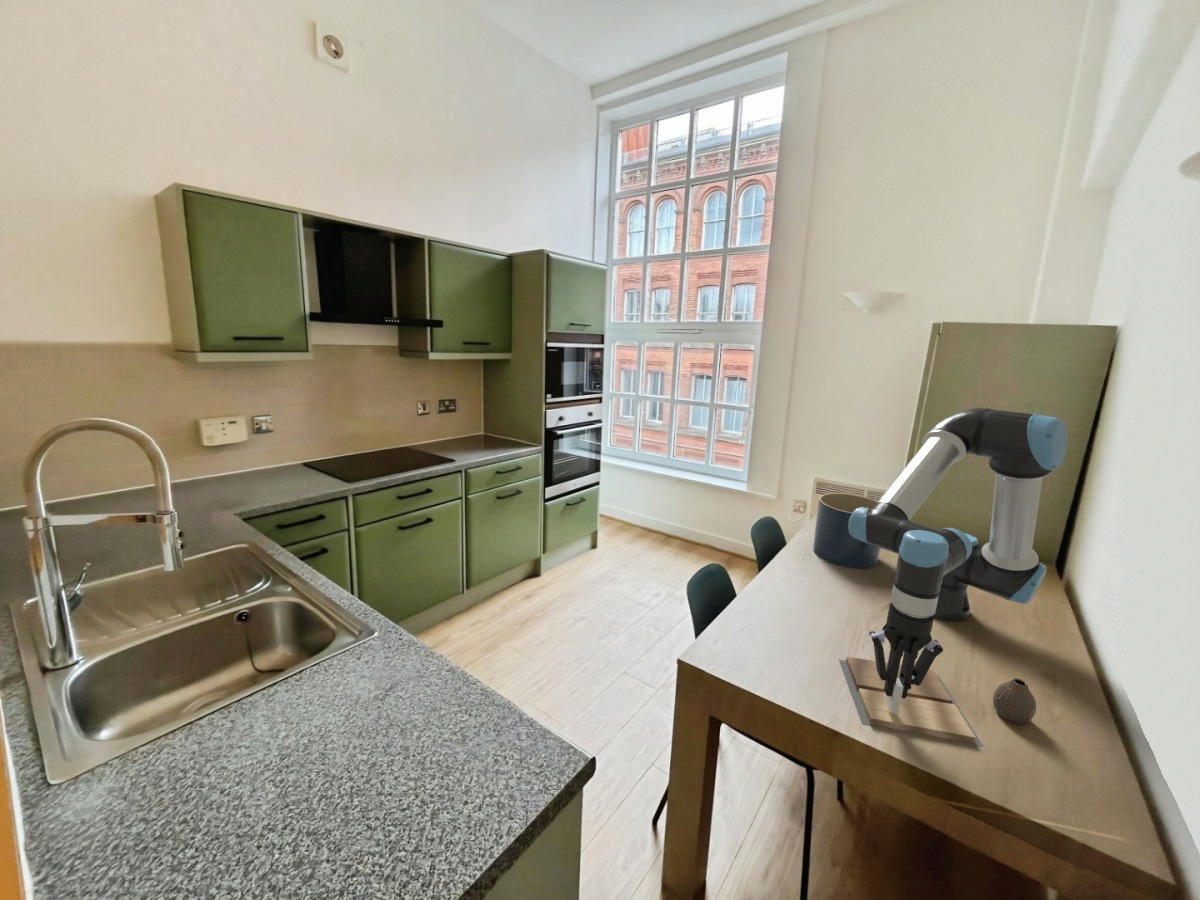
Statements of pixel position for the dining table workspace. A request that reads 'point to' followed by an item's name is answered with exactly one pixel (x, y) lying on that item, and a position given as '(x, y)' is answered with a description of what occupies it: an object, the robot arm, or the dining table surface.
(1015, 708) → the vase
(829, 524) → the planter
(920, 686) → the laid board
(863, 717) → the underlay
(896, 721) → the plank
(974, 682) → the dining table surface
